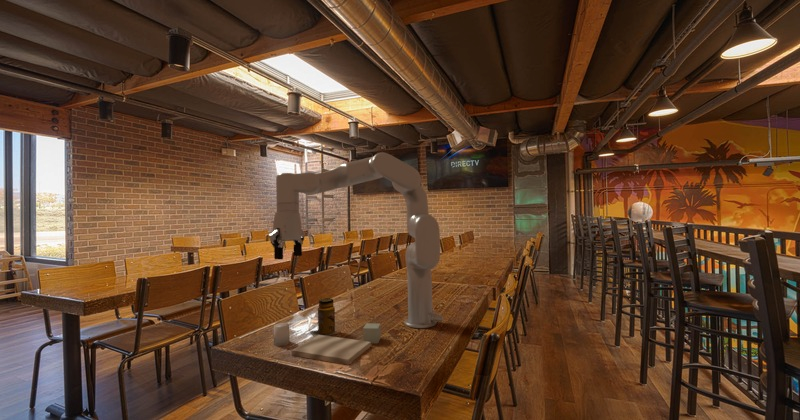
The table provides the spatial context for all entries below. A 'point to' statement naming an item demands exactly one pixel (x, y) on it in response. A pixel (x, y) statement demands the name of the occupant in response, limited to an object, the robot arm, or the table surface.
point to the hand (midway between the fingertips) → (288, 257)
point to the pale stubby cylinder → (281, 334)
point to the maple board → (332, 349)
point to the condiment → (325, 318)
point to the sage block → (372, 332)
